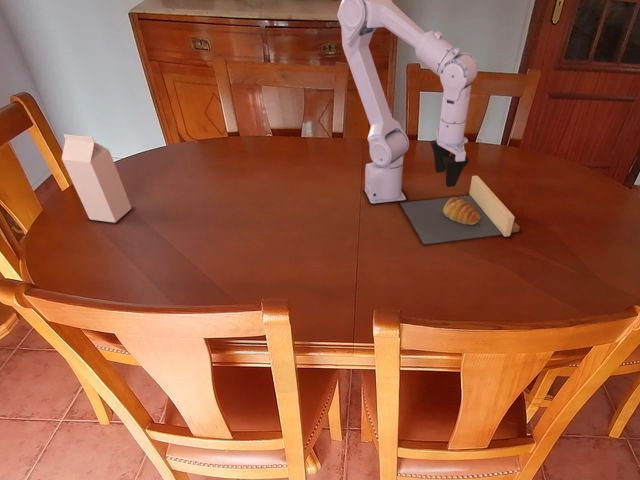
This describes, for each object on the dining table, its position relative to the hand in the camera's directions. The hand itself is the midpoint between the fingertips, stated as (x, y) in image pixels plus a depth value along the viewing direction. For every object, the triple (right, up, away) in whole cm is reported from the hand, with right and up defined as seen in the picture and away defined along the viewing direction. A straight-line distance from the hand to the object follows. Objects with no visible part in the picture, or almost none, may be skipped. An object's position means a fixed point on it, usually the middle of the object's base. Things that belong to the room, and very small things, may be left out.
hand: (445, 178), depth 112 cm
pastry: (+5, -8, +5) cm, 10 cm away
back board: (+13, -7, +6) cm, 16 cm away
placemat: (+1, -8, +4) cm, 9 cm away
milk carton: (-83, -8, +4) cm, 83 cm away
